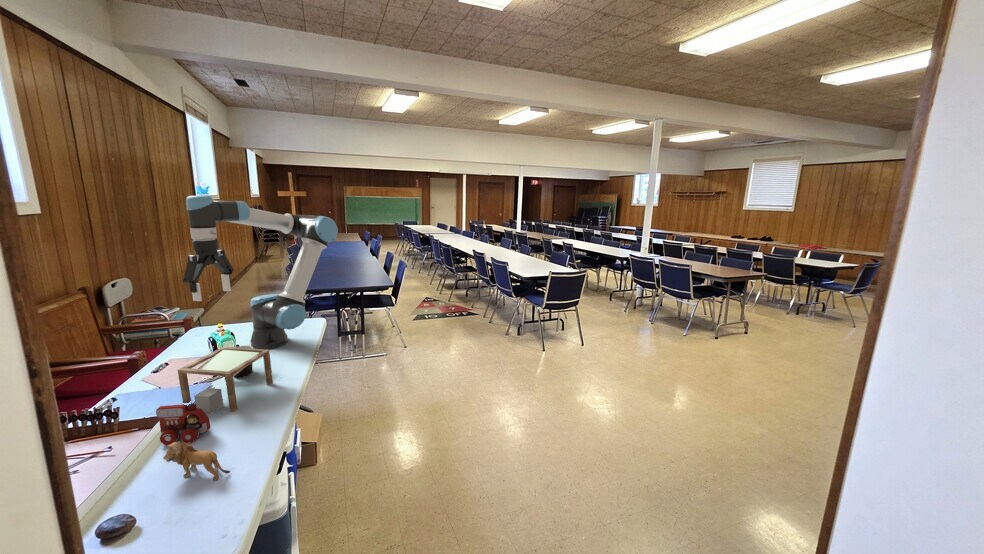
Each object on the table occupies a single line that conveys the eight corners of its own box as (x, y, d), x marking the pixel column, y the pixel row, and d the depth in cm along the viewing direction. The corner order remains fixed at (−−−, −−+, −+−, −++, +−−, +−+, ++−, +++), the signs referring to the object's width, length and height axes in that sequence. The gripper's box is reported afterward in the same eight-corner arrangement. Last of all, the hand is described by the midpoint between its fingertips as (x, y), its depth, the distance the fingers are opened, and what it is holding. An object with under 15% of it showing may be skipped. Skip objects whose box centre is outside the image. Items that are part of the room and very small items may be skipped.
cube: (194, 395, 121) (196, 412, 123) (208, 396, 121) (211, 413, 122) (207, 387, 126) (209, 404, 127) (221, 389, 126) (223, 405, 127)
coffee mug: (242, 380, 143) (239, 356, 141) (223, 377, 145) (220, 353, 143) (266, 367, 154) (264, 344, 152) (248, 364, 156) (245, 341, 154)
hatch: (225, 351, 139) (224, 349, 138) (260, 354, 137) (260, 351, 137) (194, 373, 126) (193, 371, 126) (233, 376, 125) (232, 374, 125)
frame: (228, 379, 144) (223, 346, 141) (272, 383, 142) (269, 349, 139) (183, 407, 125) (177, 369, 122) (234, 411, 123) (229, 374, 120)
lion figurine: (163, 481, 94) (157, 450, 92) (179, 466, 99) (174, 436, 97) (224, 481, 95) (219, 450, 93) (237, 466, 100) (233, 436, 98)
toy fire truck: (204, 442, 109) (199, 410, 106) (154, 446, 106) (147, 413, 104) (216, 427, 115) (211, 397, 113) (169, 431, 113) (163, 400, 110)
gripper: (183, 244, 124) (193, 306, 129) (240, 235, 148) (246, 287, 153) (162, 243, 125) (173, 304, 130) (222, 234, 149) (229, 286, 154)
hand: (213, 295), depth 141 cm, fingers open, 13 cm apart
